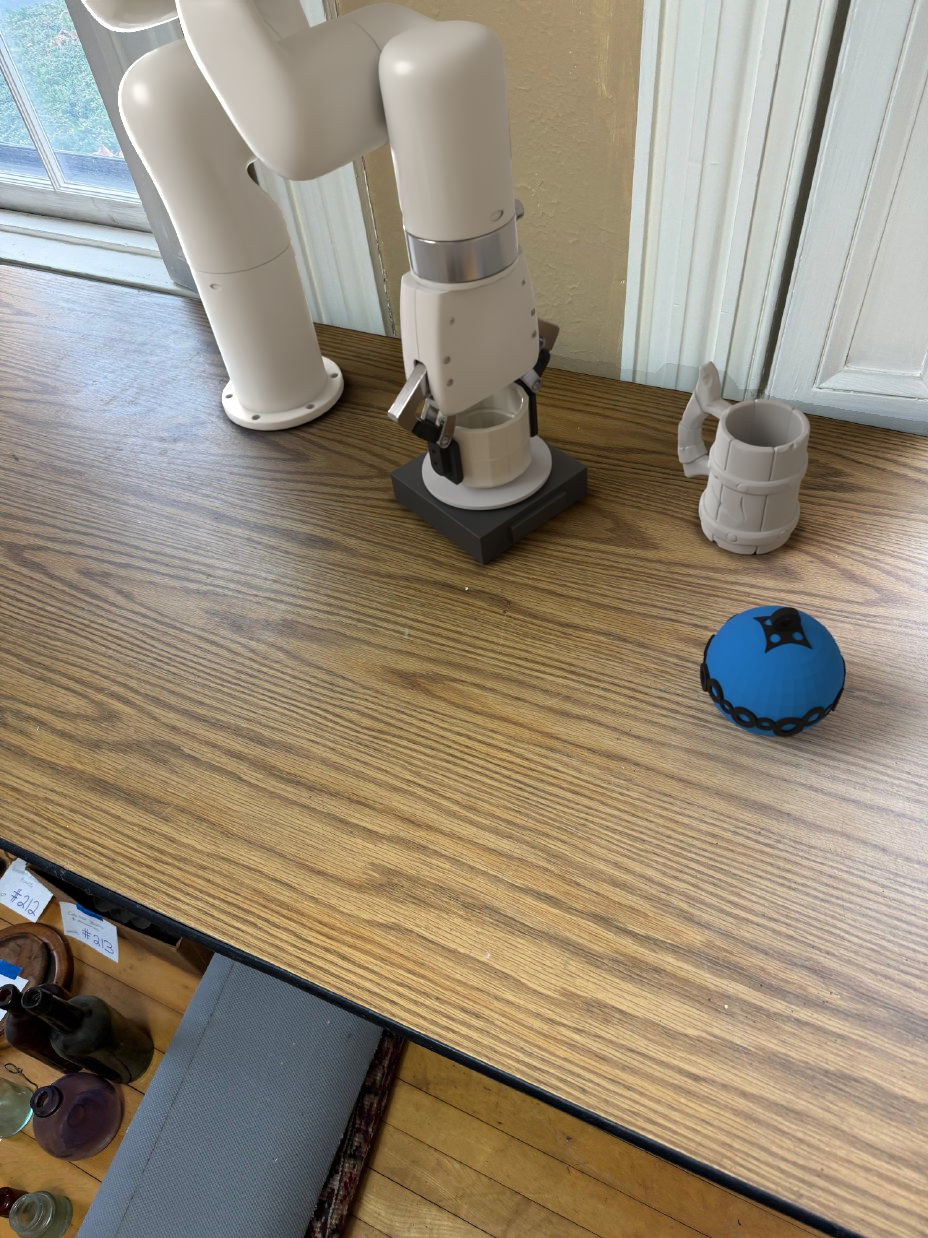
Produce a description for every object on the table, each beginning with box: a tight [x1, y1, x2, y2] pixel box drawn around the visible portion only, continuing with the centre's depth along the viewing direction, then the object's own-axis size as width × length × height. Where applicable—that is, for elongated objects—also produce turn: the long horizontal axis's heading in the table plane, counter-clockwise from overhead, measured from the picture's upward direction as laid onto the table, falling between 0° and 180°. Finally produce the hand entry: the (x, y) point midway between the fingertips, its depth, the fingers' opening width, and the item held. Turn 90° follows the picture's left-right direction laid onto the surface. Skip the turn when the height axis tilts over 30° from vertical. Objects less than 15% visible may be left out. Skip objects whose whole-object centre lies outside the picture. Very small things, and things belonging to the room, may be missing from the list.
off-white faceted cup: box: [435, 382, 532, 488], centre depth 70 cm, size 7×7×6 cm
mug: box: [677, 360, 811, 555], centre depth 66 cm, size 8×12×12 cm, turn 34°
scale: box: [389, 435, 589, 566], centre depth 73 cm, size 12×12×4 cm
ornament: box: [699, 604, 847, 738], centre depth 54 cm, size 9×9×10 cm
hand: (486, 451), depth 71 cm, fingers closed on off-white faceted cup, 7 cm apart
